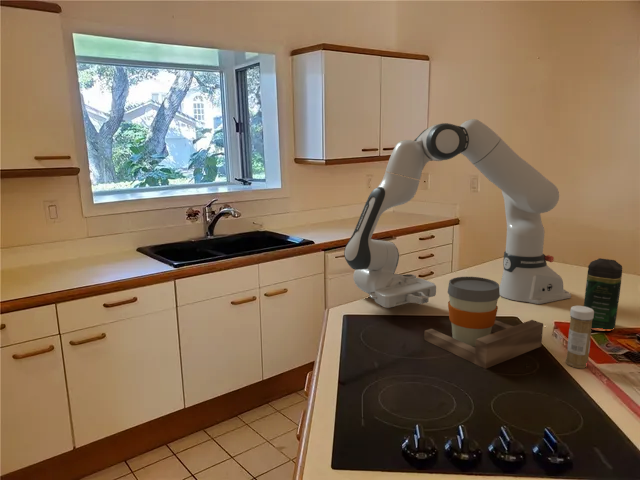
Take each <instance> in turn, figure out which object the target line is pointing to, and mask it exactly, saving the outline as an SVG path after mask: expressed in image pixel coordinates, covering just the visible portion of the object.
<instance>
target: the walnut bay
mask: <svg viewBox="0 0 640 480" xmlns="http://www.w3.org/2000/svg"><path fill="white" fill-rule="evenodd" d="M543 330H544V323H543V322H540V321H536V320H534V319H531V320H528V321H525V322H522V323H519V324H516V325H510V324H509V323H504V322H502V321H499V320H497V319H495V324H494V325H493V326H492V329H491V334H490V335H487V336H484V337H481V338H478V339H476V346H470V345H468V344H466V343H463V342H461V341H459V340H456V339H454V338H453V336H450V335H447V334H445V333H442V332H441V331H438V330H435V329H434V328H429V329H426V330H424V334H423V335H424V338H423V339H424V341H426V342H428V343H430V344H432V345H435V346H436V347H439V348H441V349H443V350H444V351H448V352H449V353H451V354H453V355H456V356H457V357H459V358H461V359H464V360H466V361H468V362H470V363H472V364H474V365H476V366H479V367H480V368H482V369H485V370H486V369H489V368H492V367H494V366H496V365H498V364H501V363H504V362H506V361H509V360H511V359H514V358H517V357H519V356H521V355H523V354H526V353H528V352H531V351H533V350H536V349H539V348H541V347H542V342H543V333H544V332H543Z"/></svg>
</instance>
